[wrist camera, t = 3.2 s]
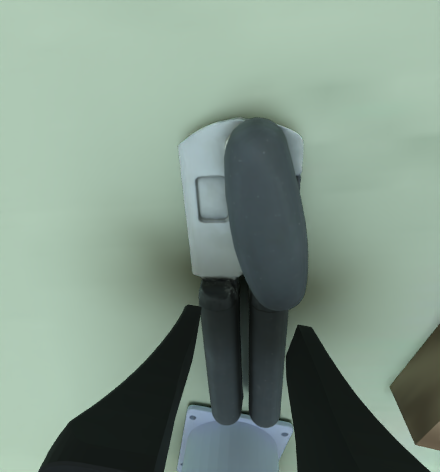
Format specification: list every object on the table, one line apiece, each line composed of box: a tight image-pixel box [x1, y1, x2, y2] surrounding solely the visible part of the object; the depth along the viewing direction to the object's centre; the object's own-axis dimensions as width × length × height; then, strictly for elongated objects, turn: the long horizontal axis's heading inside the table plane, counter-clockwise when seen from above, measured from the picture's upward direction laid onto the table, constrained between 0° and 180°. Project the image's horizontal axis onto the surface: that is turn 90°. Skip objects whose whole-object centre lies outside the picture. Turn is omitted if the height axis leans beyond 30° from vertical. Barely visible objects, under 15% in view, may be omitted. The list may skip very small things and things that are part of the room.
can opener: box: [178, 117, 308, 428], centre depth 15 cm, size 19×5×6 cm, turn 3°
